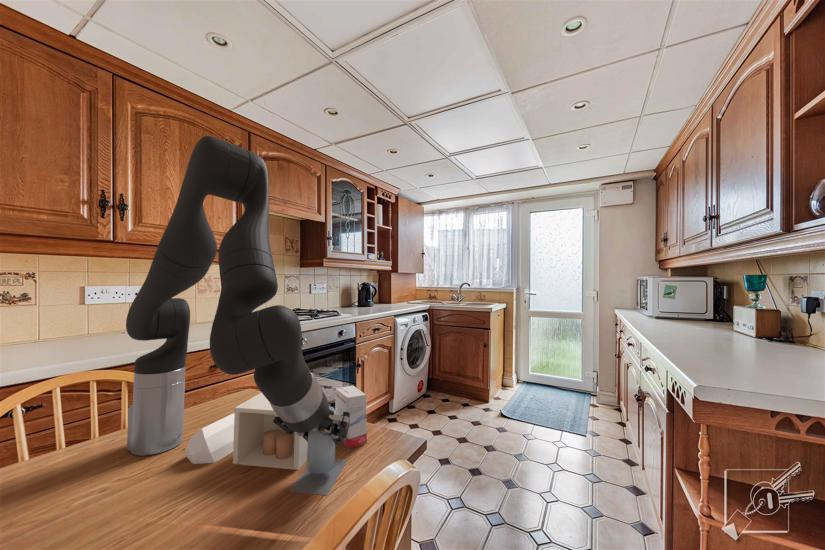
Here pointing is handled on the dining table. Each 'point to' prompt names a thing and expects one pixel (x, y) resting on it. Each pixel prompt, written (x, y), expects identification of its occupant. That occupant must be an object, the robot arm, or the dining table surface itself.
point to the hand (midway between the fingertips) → (325, 438)
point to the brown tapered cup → (270, 442)
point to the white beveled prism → (212, 442)
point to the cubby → (250, 432)
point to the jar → (320, 452)
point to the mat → (318, 480)
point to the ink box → (352, 414)
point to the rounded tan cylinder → (283, 446)
